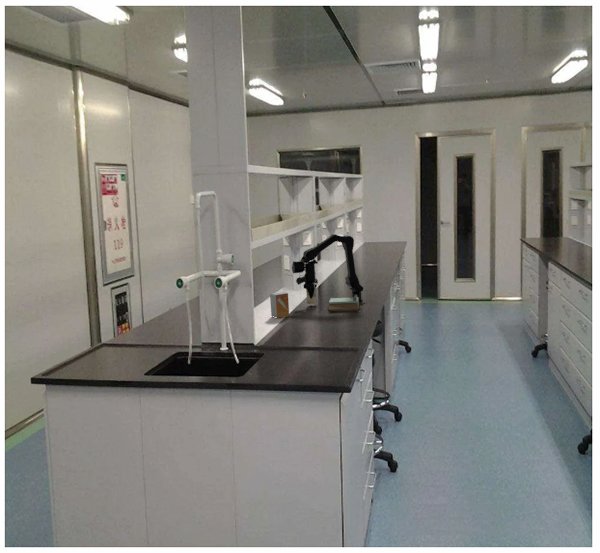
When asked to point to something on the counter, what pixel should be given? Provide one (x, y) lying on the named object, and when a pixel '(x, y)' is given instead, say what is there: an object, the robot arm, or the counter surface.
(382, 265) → the counter surface
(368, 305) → the counter surface
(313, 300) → the brown wooden block
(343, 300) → the lid
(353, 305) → the open wooden tray
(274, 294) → the small box
